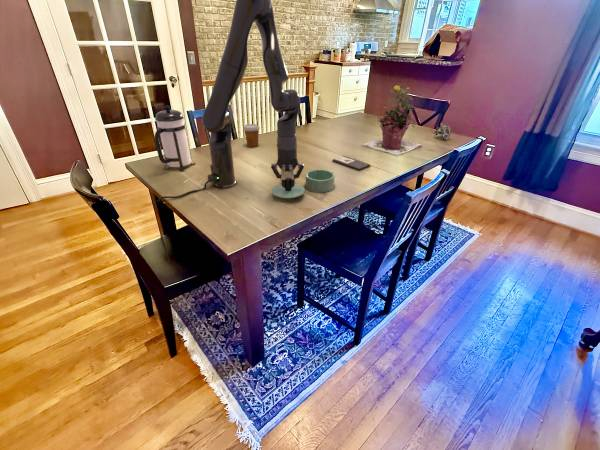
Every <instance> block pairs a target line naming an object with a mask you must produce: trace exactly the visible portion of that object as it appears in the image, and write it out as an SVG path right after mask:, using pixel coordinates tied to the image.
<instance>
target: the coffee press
mask: <svg viewBox="0 0 600 450" xmlns="http://www.w3.org/2000/svg"><path fill="white" fill-rule="evenodd" d="M184 118H185V116H184V114H182V112H181V111H180V110H178V109H177V110H176V109H171V107H170V105H168V104H166V105H164V110H161V111H158V112H157V113H156V114H155V117H154V120H155V122H156V125H157V126H156V128H157V130H156V131H155V133H154V144H155V148H156V151H157V156H158V158H159V161H160V162H161V163H162V164H165V165H164V169H165V170H168V169H169V168H170V167H171V168H179V169H180V171H181V172H184V171H185V168H184V167H187V166H188V165H190V164H191V165H193V166H195V164H196V161H194V160H193V159H192V153H191V149H190V143H189V138H188V133H187V129H186V123H185V120H184Z"/></svg>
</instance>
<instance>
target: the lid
mask: <svg viewBox="0 0 600 450" xmlns="http://www.w3.org/2000/svg"><path fill="white" fill-rule="evenodd" d="M305 191H306V189H305V187H303V185H301V184H298V183H295V185H294V187H293V188H291V178H286V179H285V188H283V187H282V184H281V183H280V184H277V185H274V186H273V187H272V189H271V193H272V195H273V196H275V197H277V198H281V199H295V198H298V197H301V196H303V194H304V193H305Z"/></svg>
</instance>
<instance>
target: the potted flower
mask: <svg viewBox="0 0 600 450" xmlns="http://www.w3.org/2000/svg"><path fill="white" fill-rule="evenodd" d="M401 86H402V83H400V82H397V85H394V86H393V88H392V89H390V90H389V92H390V93H391V94H394V95H396V98H390V99H389V103H390V104H394V103H395V102H396V105H395V107H390V106H384V107H383V109H386V111H383V110H382V112H383V113H385V116H384V115H381V116H379V115H378V114H377V115H376V116H377V117H376V118H377V122H378V123H379V127H380V129H381V132H382V133H381V134H382V137H381V138H380V139H374V140H372V141H368V142H367V141H366V142H364V143H362V146H363V147H365V148H369V149H372V150H376V151H380V152H382V153H386V154H389V155H392V156H396V157H397V156H400V155H402V154H405V153H408V152H410V151H413V150H416V149H419V148H421V147H422V144H420V143H417V142H411V141H405V140H403V138H404V136H405V134H406V132H407V131H408V129H409V126H410V125H411V126H412V127H413V128H414V129H416V128H415V125H414V123H413V122H412V120H413V119H412V118H413V117H412V116H411V115H410V112H411V111H415V112H416V113H419V110H417V109H416V108H414V105H413V104H412V103H411V104H410V103H409V100H411V101H414V98H411V97H413V96H412V95H410V96H409V94H410V90H411V89H410V87H411V86H409V87H406V88H405V89H404V88H403V87H401ZM399 104H400V105H399ZM387 110H389V112H388V111H387ZM407 110H408V111H409V112H408V113H407ZM378 144H382V147H378ZM401 147H403V149H404V150H405V151H404V150H402V149H401Z"/></svg>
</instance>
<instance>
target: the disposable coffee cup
mask: <svg viewBox="0 0 600 450" xmlns="http://www.w3.org/2000/svg"><path fill="white" fill-rule="evenodd" d="M243 131H244V135H245V140H246V144H247V147H248V148H257V147H259V136H260V135H259V131H260V127H259V125H258V124H256V123H248V124H244V125H243Z"/></svg>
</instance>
